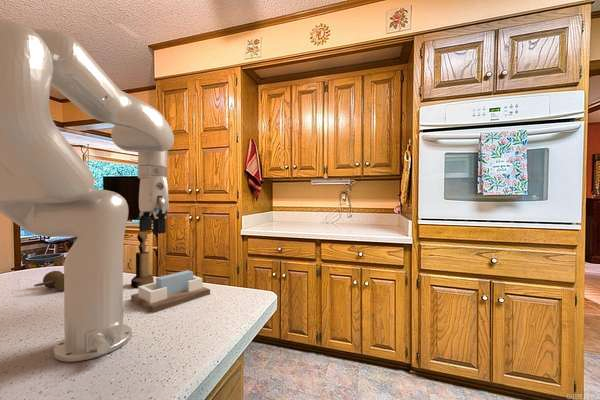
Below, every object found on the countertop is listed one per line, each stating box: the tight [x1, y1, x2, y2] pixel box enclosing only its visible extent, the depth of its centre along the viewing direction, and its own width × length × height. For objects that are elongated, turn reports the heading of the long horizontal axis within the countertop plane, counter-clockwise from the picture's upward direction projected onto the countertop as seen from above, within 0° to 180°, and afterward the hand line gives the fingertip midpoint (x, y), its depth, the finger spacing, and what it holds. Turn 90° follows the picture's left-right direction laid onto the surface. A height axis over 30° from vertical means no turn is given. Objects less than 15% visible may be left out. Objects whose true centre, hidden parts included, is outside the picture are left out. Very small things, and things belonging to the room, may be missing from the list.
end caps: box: [137, 274, 203, 303], centre depth 80 cm, size 8×16×3 cm, turn 143°
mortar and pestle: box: [130, 231, 155, 289], centre depth 91 cm, size 7×6×18 cm
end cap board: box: [130, 286, 211, 313], centre depth 80 cm, size 14×17×2 cm
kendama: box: [33, 270, 64, 293], centre depth 91 cm, size 6×10×20 cm
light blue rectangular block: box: [155, 269, 194, 295], centre depth 81 cm, size 3×10×5 cm, turn 144°
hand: (152, 232), depth 78 cm, fingers open, 9 cm apart
